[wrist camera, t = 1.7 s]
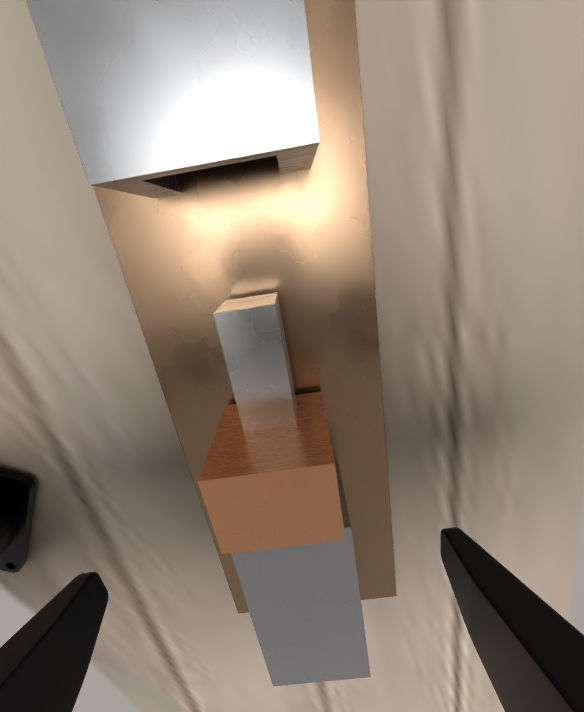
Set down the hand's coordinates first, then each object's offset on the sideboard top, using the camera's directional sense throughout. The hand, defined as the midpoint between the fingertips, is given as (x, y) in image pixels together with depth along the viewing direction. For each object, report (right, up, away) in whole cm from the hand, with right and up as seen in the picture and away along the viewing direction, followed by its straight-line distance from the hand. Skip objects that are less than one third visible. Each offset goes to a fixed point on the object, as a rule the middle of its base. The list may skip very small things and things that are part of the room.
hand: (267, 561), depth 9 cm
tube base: (0, +4, +6) cm, 7 cm away
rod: (0, 0, +6) cm, 6 cm away
